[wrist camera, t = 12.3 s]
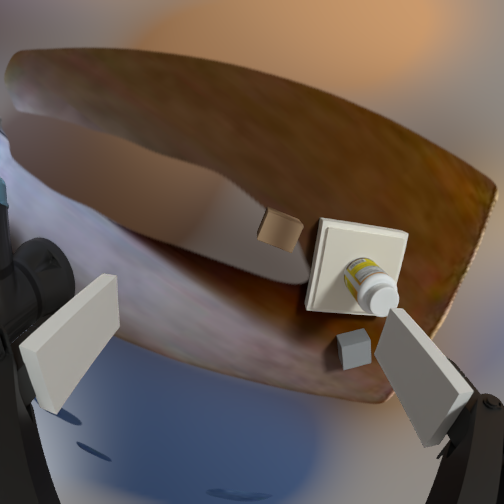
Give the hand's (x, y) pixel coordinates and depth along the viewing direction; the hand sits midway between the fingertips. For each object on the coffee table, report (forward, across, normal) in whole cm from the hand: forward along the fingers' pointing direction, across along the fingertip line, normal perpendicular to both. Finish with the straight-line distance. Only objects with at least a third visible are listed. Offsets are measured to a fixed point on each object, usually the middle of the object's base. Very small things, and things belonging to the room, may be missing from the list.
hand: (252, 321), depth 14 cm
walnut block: (+32, +4, -2) cm, 32 cm away
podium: (+32, +17, -6) cm, 36 cm away
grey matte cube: (+32, +20, -20) cm, 43 cm away
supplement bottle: (+29, +17, -6) cm, 34 cm away
